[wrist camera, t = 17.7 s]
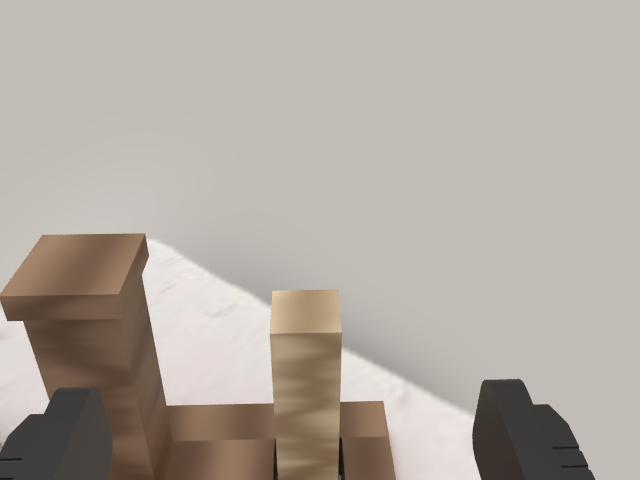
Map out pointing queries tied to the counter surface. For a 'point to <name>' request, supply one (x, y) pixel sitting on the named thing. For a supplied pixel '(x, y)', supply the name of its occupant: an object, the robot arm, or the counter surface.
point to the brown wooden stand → (153, 372)
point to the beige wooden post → (306, 382)
